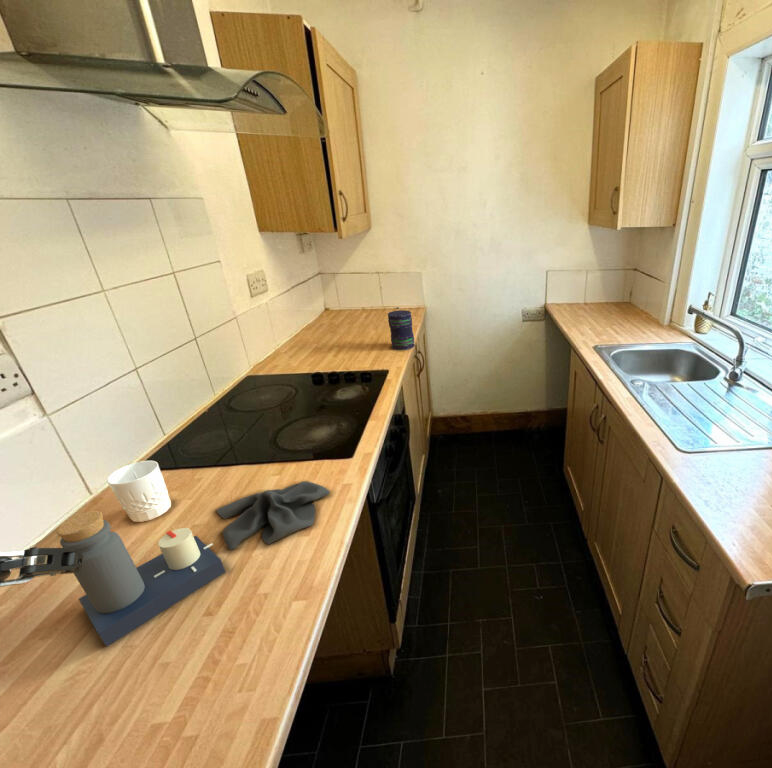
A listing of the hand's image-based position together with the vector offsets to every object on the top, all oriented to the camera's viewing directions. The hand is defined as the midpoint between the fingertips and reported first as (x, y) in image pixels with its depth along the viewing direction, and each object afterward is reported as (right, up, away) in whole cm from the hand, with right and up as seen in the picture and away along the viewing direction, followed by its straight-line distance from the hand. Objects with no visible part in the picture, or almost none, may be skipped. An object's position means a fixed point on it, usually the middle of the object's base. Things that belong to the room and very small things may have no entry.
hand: (36, 571), depth 51 cm
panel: (0, -12, +18) cm, 22 cm away
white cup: (-17, -4, +36) cm, 40 cm away
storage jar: (+10, +39, +132) cm, 138 cm away
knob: (+2, -7, +20) cm, 22 cm away
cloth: (+8, -4, +35) cm, 36 cm away
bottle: (-3, -10, +14) cm, 18 cm away
